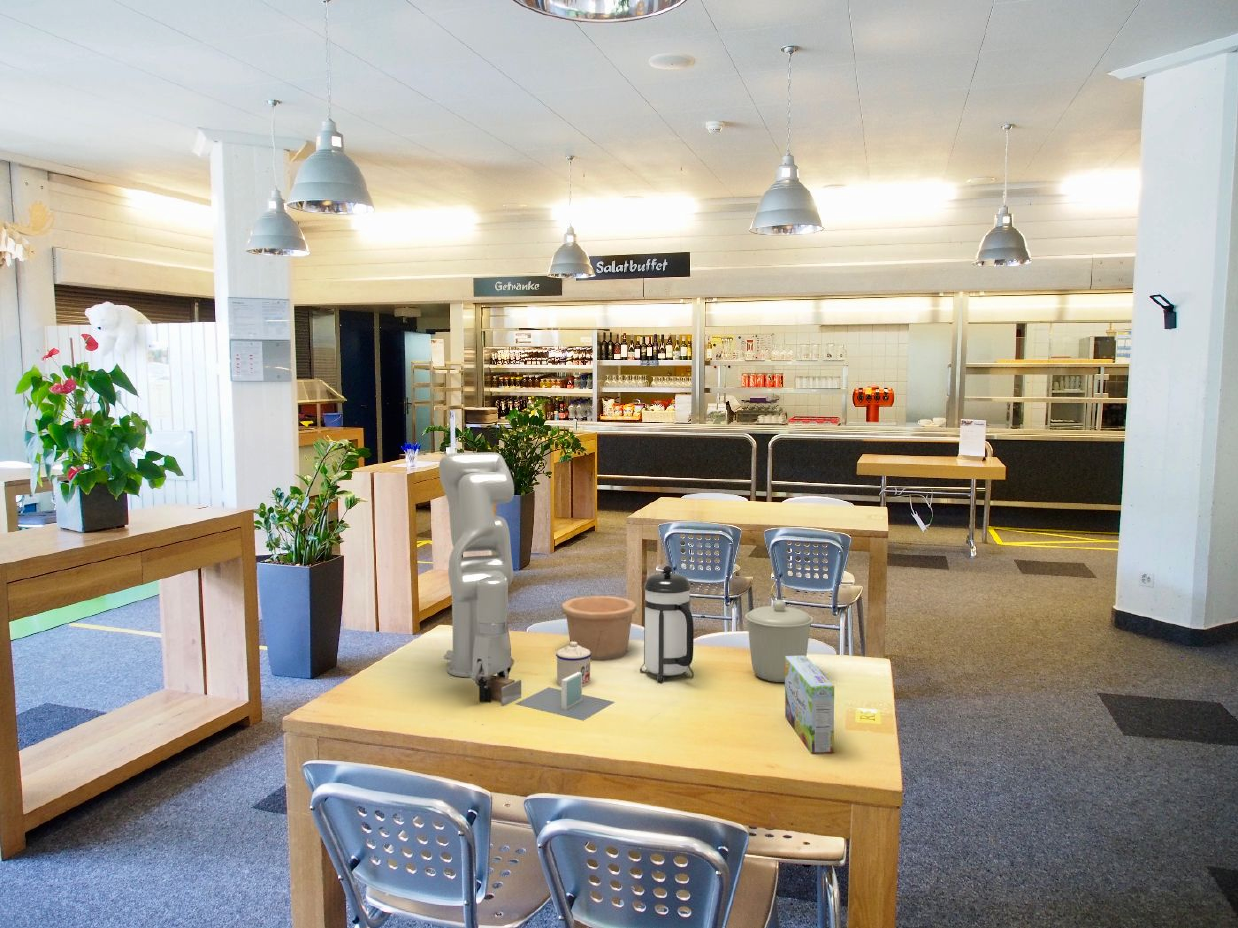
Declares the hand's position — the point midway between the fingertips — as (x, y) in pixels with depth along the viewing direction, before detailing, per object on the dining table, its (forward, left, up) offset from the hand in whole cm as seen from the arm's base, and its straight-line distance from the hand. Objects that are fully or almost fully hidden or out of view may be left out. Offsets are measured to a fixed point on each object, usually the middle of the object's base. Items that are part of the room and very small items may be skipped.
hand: (493, 697), depth 214 cm
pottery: (0, +48, -1) cm, 48 cm away
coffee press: (+28, +40, -1) cm, 49 cm away
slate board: (+17, +6, -1) cm, 19 cm away
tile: (+19, +6, 0) cm, 20 cm away
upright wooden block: (+1, 0, -1) cm, 2 cm away
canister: (+53, +55, -1) cm, 77 cm away
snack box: (+73, +21, -1) cm, 76 cm away
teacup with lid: (+10, +21, -1) cm, 23 cm away
